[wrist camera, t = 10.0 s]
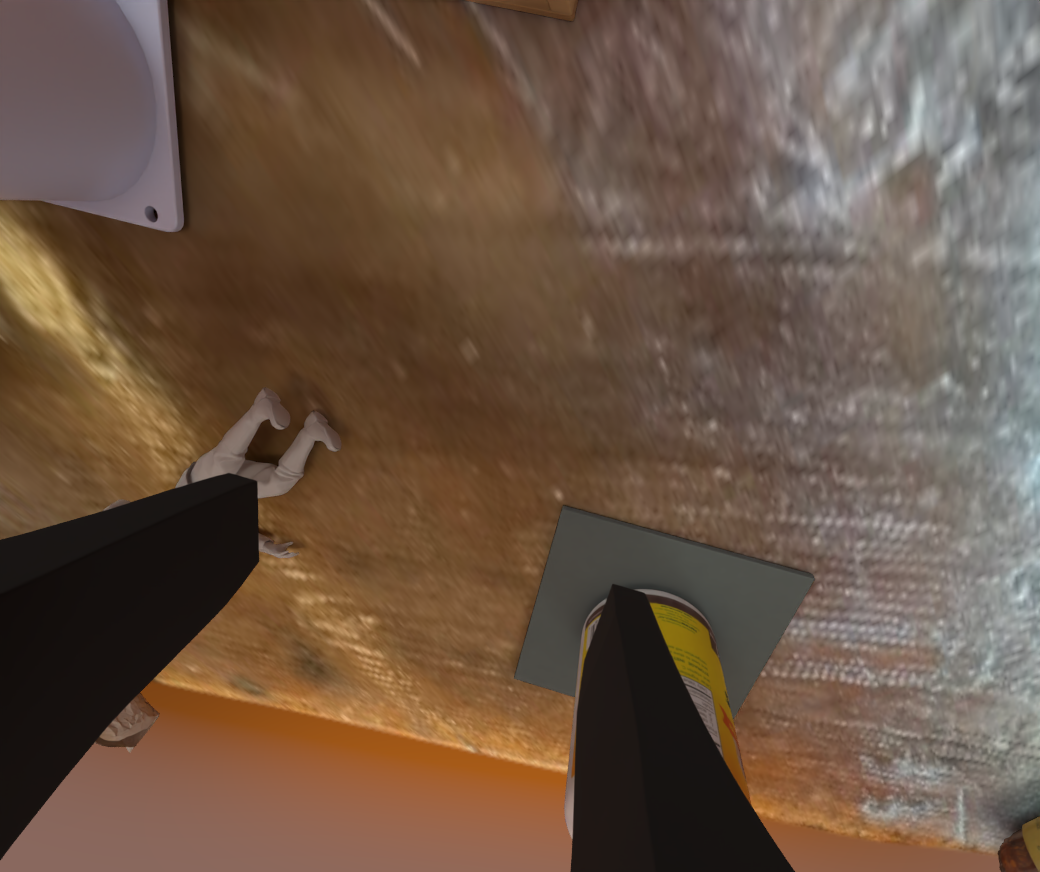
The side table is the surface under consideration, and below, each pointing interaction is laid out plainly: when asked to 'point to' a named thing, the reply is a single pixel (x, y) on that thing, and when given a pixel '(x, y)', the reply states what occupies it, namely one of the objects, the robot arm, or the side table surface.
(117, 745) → the bone fragment
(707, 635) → the supplement bottle
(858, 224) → the side table surface
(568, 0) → the wooden tray
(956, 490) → the side table surface
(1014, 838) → the sauce bottle
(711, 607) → the mat
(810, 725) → the side table surface
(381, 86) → the side table surface
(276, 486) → the soldier figure
